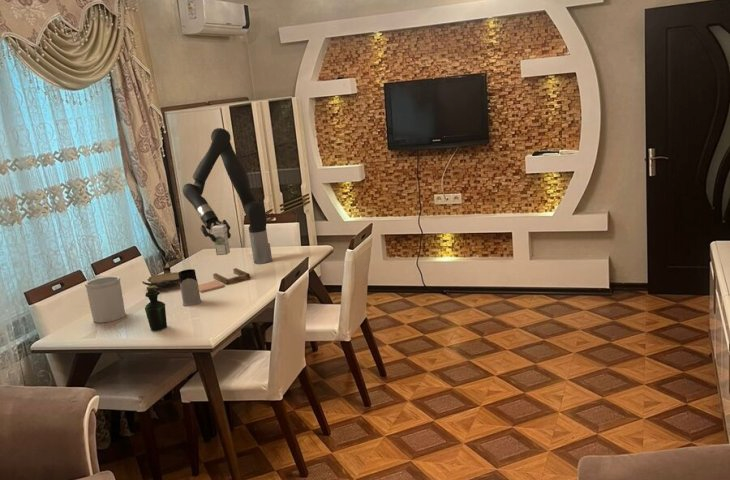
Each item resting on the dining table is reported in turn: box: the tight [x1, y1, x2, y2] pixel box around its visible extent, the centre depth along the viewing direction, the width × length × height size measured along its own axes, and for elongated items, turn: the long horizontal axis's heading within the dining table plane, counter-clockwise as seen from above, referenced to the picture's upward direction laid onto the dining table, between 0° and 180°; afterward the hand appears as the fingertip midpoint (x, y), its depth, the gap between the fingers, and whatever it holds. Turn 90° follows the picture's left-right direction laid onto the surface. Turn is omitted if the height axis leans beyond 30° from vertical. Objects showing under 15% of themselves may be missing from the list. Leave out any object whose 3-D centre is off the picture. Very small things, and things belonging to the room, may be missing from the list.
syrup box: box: [212, 224, 231, 256], centre depth 358 cm, size 6×6×14 cm
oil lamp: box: [141, 262, 180, 289], centre depth 364 cm, size 22×30×8 cm
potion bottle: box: [144, 285, 168, 332], centre depth 294 cm, size 8×8×18 cm
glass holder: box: [178, 268, 203, 307], centre depth 328 cm, size 9×14×15 cm, turn 15°
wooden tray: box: [212, 268, 251, 286], centre depth 361 cm, size 13×18×2 cm
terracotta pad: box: [198, 279, 226, 294], centre depth 350 cm, size 12×12×1 cm
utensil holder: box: [84, 275, 126, 324], centre depth 318 cm, size 15×15×18 cm
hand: (222, 239), depth 357 cm, fingers closed on syrup box, 8 cm apart
